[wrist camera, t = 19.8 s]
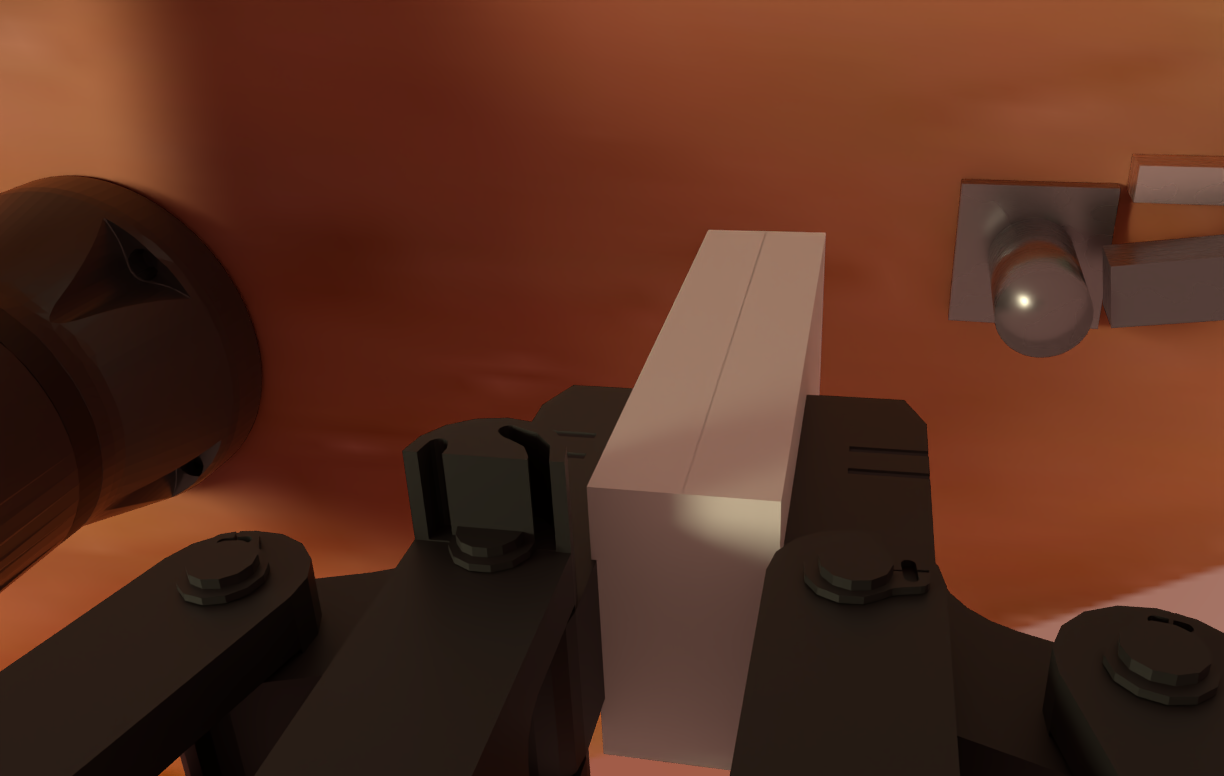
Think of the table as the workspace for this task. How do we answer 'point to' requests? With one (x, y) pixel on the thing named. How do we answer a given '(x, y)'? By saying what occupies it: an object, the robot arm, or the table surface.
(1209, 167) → the frame
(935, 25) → the table surface
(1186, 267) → the cable arm
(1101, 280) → the post
